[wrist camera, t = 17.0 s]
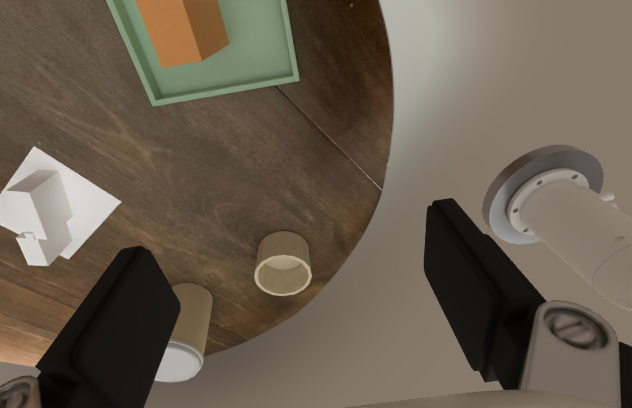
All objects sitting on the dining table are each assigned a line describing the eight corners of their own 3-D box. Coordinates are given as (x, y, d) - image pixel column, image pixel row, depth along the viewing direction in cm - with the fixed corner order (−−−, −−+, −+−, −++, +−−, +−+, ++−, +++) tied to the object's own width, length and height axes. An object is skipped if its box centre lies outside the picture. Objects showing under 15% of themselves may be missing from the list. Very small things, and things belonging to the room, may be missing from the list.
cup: (304, 227, 47) (306, 251, 42) (312, 265, 51) (315, 291, 46) (251, 235, 47) (247, 260, 42) (264, 273, 51) (262, 299, 47)
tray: (273, -77, 28) (271, -84, 26) (299, 76, 35) (299, 80, 33) (99, -45, 28) (84, -49, 26) (160, 100, 35) (152, 106, 33)
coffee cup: (153, 281, 50) (120, 350, 40) (211, 276, 51) (192, 343, 41) (170, 317, 55) (144, 386, 45) (222, 312, 56) (208, 380, 46)
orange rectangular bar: (215, -7, 30) (177, -15, 20) (229, 44, 32) (202, 61, 22) (185, -2, 30) (132, -6, 20) (201, 49, 32) (161, 68, 22)
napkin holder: (32, 144, 37) (-7, 165, 32) (122, 201, 42) (100, 226, 37) (-17, 217, 42) (-56, 244, 37) (69, 260, 47) (44, 289, 42)
